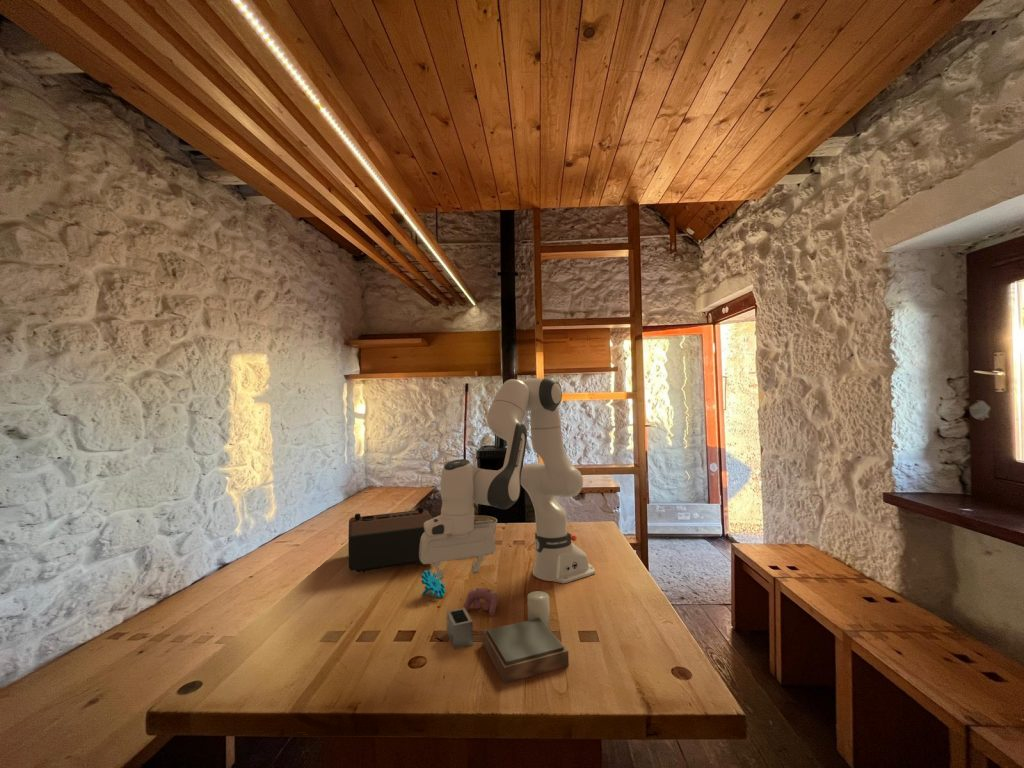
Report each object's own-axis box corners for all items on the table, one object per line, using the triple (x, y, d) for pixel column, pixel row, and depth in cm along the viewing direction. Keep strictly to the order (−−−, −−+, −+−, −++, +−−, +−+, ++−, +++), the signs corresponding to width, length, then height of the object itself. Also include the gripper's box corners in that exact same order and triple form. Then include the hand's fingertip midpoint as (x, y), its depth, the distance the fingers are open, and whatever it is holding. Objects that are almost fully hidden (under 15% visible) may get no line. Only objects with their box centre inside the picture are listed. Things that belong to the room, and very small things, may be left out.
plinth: (540, 631, 114) (539, 616, 114) (568, 665, 99) (568, 648, 100) (483, 644, 109) (483, 628, 109) (504, 683, 94) (504, 664, 94)
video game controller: (497, 616, 126) (500, 590, 129) (492, 616, 122) (495, 589, 125) (467, 612, 129) (471, 586, 132) (461, 611, 125) (465, 585, 128)
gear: (437, 599, 130) (418, 572, 134) (424, 612, 131) (406, 585, 134) (453, 589, 141) (435, 564, 144) (441, 601, 141) (423, 576, 145)
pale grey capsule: (544, 618, 121) (543, 589, 122) (553, 628, 116) (552, 598, 116) (524, 622, 119) (524, 593, 119) (533, 633, 114) (532, 602, 114)
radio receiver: (433, 543, 187) (433, 502, 188) (446, 565, 162) (445, 517, 163) (349, 555, 175) (348, 511, 175) (348, 580, 150) (348, 529, 150)
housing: (465, 629, 116) (464, 607, 116) (473, 645, 109) (472, 621, 109) (447, 633, 114) (446, 611, 115) (453, 649, 107) (453, 625, 107)
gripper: (491, 514, 119) (492, 564, 119) (417, 523, 112) (418, 576, 111) (498, 520, 113) (499, 573, 113) (421, 530, 106) (421, 586, 105)
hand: (458, 575), depth 112 cm, fingers open, 8 cm apart
